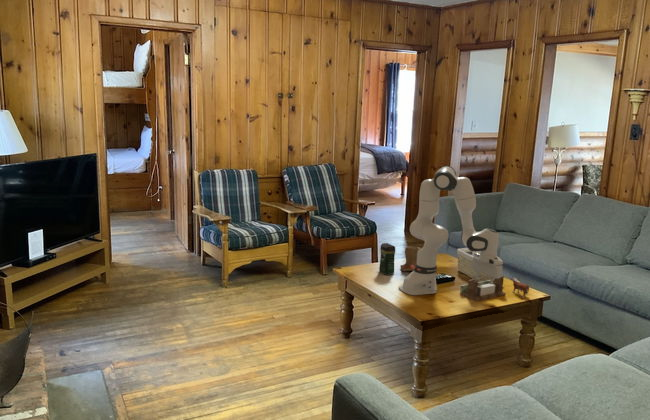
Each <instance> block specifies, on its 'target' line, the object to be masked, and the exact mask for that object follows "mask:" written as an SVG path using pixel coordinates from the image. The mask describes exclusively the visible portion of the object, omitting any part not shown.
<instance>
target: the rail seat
mask: <svg viewBox="0 0 650 420" xmlns="http://www.w3.org/2000/svg"><path fill="white" fill-rule="evenodd" d="M504 277H505V276H503V275H502V277H501V278H498V279H496V278H495V280H494V281H493V284H494V285H496V289H495V293H491V294H487V295H482V296H479V295H477V286H480V285H485V284H489V281H490V280H484V281H476V280H475V279H473V278H471V279H468V283H466V284H461V285H460V290H459V291H460V292H459V294H460V295H461V296H463V297H465V298H467V299H469V300H471V301H474V302H479V301H483V300H489V299H492V298H497V297H504V296H506V292H504V291H503V288H504V287H503V286H504V279H505V278H504Z"/></svg>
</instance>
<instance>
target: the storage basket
mask: <svg viewBox="0 0 650 420" xmlns="http://www.w3.org/2000/svg"><path fill="white" fill-rule="evenodd" d="M456 253H457V270H458V271H459V272H460V273H463V274H464V275H466V276H468V277H469V278H471V279H475V280H476V281H478V282H481V281H486V280H491V276H488V275H486V274H484V273H481V272H479V274H480V276H481V277H480V279H477V278H476V277H477V275H476V270H474V269H472V268H471V264H472V260H473V257H474V255H475V254H476V253H477V254H479V255H480V251H471V250H469V249H468V248H467V247H464V248H457V251H456ZM470 253H471V254H470Z"/></svg>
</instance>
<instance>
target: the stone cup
mask: <svg viewBox="0 0 650 420" xmlns="http://www.w3.org/2000/svg"><path fill="white" fill-rule="evenodd" d="M420 248H421V247H418V246H406V247H405V250H404V256H405V263H404V264H401V265H400V270H401V271H403V272H410V271H412V272H413V271H414V269H412V268H410V267H411V265H413V266H415V265H416V263H417V252H418V250H419V249H420Z"/></svg>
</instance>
